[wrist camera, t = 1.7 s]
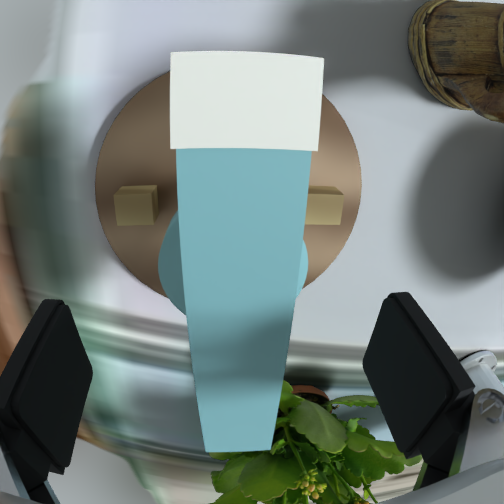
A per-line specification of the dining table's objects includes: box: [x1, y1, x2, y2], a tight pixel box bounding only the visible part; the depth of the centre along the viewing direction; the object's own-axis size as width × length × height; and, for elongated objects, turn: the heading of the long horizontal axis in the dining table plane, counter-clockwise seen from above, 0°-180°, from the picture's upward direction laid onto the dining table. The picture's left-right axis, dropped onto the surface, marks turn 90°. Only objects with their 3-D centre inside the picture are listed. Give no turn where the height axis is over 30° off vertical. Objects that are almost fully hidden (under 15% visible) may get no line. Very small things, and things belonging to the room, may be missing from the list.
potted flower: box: [209, 380, 422, 504], centre depth 26 cm, size 25×24×18 cm
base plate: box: [95, 72, 362, 298], centre depth 18 cm, size 18×18×8 cm
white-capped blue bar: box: [158, 51, 324, 452], centre depth 11 cm, size 14×6×6 cm, turn 178°
